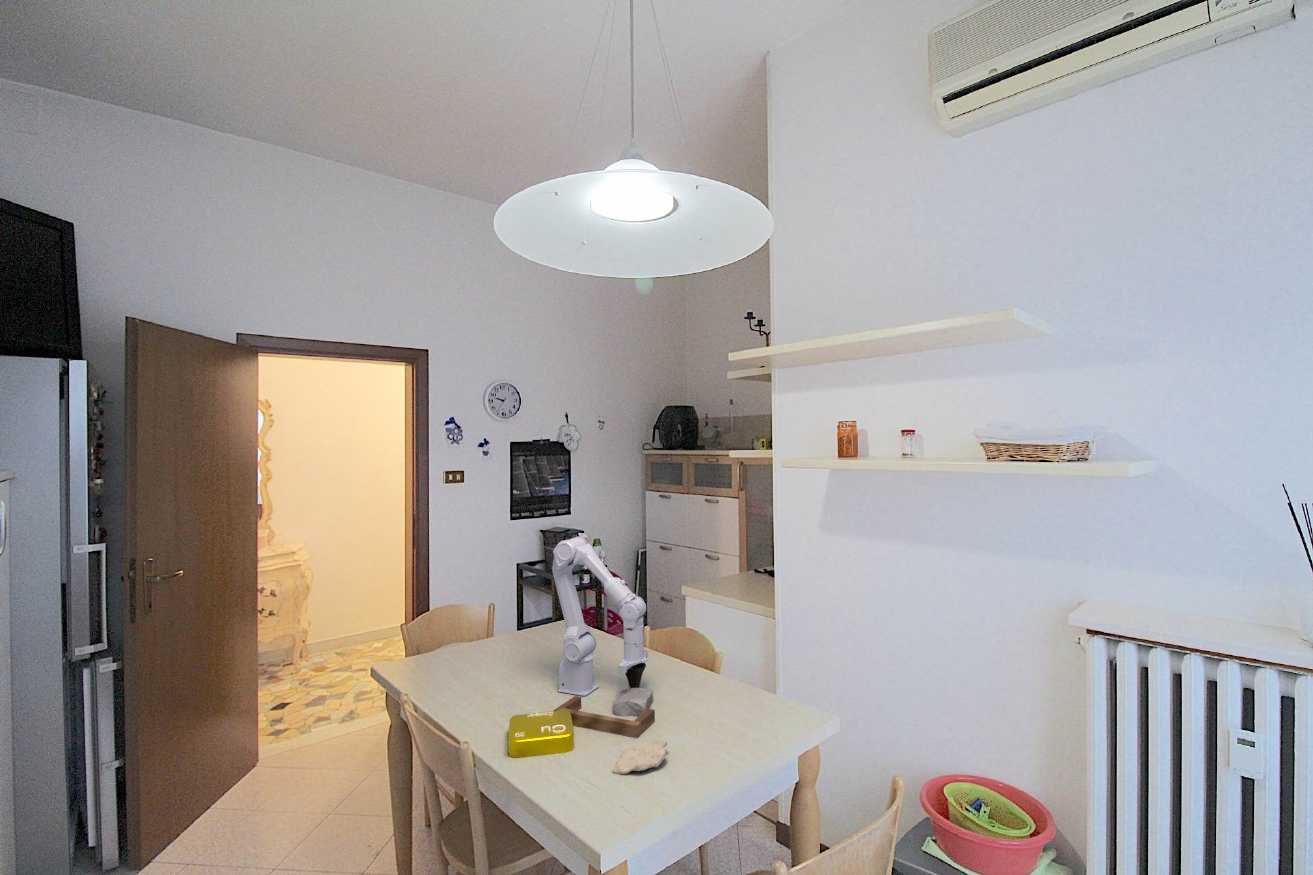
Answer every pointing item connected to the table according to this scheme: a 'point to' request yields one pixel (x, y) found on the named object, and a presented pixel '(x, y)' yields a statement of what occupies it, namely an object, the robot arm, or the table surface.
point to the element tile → (540, 734)
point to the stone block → (632, 702)
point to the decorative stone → (641, 757)
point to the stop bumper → (607, 720)
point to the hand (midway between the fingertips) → (634, 690)
